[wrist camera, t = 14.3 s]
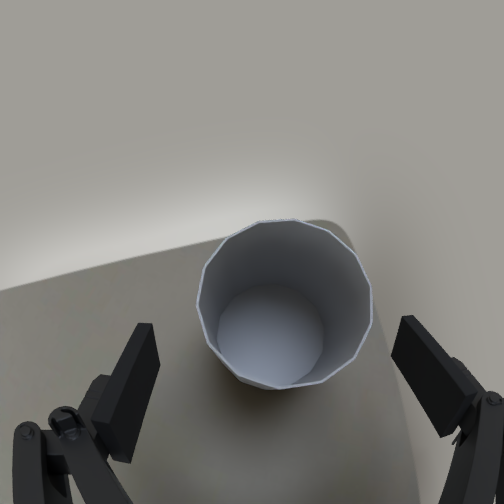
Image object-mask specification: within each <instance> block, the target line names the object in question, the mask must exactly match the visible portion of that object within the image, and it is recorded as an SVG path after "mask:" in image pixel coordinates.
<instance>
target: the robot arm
mask: <svg viewBox="0 0 504 504" xmlns="http://www.w3.org/2000/svg"><path fill="white" fill-rule="evenodd" d="M391 357H392V359H393V360H394V362H395V364H396V365H397V367H398V368H399V370H400V371H401V373H402V374H403V376H404V378H405V379H406V381H407V382H408V384H409V386H410V387H411V389H412V391H413V392H414V394H415V395H416V397H417V399H418V401H419V402H420V404H421V406H422V407H423V409H424V411H425V412H426V414H427V416H428V417H429V419H430V421H431V423H432V424H433V426H434V428H435V429H436V431H437V433H438V435H439V436H440V438H442V437H445V436H447V435H450V434H453V432H454V431H455V429H456V428H457V426H458V425H459V426H460V428H461V431H460V432H459V434H458V435H457V436H456V438H455V439H454V441H453V442H452V445H454V443H455V442H456V441H457V443H456V447H455V451H454V455H453V459H452V463H451V466H450V470H449V473H448V476H447V480H446V483H445V486H444V489H443V492H442V495H441V498H440V500H439V503H438V504H493V502H494V497H495V494H496V504H504V398H502V397H501V396H500V395H499V394H498V393H496V392H493V391H488V392H486V391H485V390H484V388H483V387H482V386H481V385H480V383H479V382H478V381H477V380H476V379H475V377H474V376H473V375H471V373H470V371H469V370H467V368H466V367H465V366H464V364H463V363H462V362H461V361H459V360H458V359H456V358H455V357H453V358H451V357H450V356H449V355H448V354H447V353H446V352H445V350H444V349H443V348H442V347H441V346H440V345H439V344H438V343H437V341H436V340H435V339H434V338H433V337H432V336H431V334H430V333H429V332H428V331H427V330H426V329H425V328H424V327H423V325H421V323H420V322H419V321H418V320H417V319H416V318H415V317H414V316H413V315H409V316H402V318H401V322H400V326H399V329H398V333H397V336H396V340H395V343H394V347H393V350H392V353H391ZM159 368H160V361H159V356H158V351H157V346H156V341H155V336H154V330H153V325H152V323H138V324H137V326H136V328H135V330H134V332H133V334H132V335H131V337H130V339H129V341H128V343H127V345H126V347H125V349H124V351H123V353H122V355H121V357H120V359H119V361H118V363H117V364H116V366H115V368H114V370H113V373H112V375H111V376H109V375H102V374H100V375H99V376H98V377H97V378H96V379H95V380H93V381H92V383H91V385H90V387H89V389H88V391H87V393H86V395H85V397H84V398H83V400H82V402H81V404H80V406H79V408H78V410H76V409H74V408H72V407H68V406H63V407H59V408H57V409H55V410H54V411H53V412H52V413H51V414H50V416H49V418H48V424H49V425H50V427H51V428H52V430H41V429H40V427H39V426H38V425H37V424H36V423H34V422H29V421H27V422H23V423H21V424H20V425H18V426H17V428H16V429H15V432H14V440H13V466H12V477H13V503H14V504H73V502H72V497H71V491H70V485H69V479H68V474H72V476H73V478H74V480H75V482H76V485H77V487H78V489H79V491H80V493H81V495H82V497H83V499H84V501H85V503H86V504H133V502H132V501H131V499H130V498H129V496H128V495H127V493H126V492H125V490H124V489H123V487H122V485H121V484H120V482H119V481H118V479H117V477H116V476H115V474H114V472H113V470H112V469H111V467H110V465H109V463H108V462H107V458H108V455H109V454H110V455H111V457H112V459H113V460H115V461H119V462H124V463H130V464H131V461H132V457H133V453H134V450H135V446H136V443H137V439H138V436H139V432H140V429H141V426H142V422H143V419H144V416H145V412H146V409H147V406H148V403H149V399H150V396H151V393H152V390H153V387H154V384H155V381H156V377H157V374H158V371H159Z"/></svg>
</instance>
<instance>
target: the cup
mask: <svg viewBox="0 0 504 504" xmlns="http://www.w3.org/2000/svg"><path fill="white" fill-rule="evenodd" d="M196 307H197V311H198V314H199V318H200V321H201V325H202V328H203V332H204V335H205V338H206V342H207V344H208V346H209V347H210V348H211V349H212V351H213V352H214V353H215V354H216V356H217V357H218V358H219V359H220V361H221V362H222V363H223V364H224V365H225V366H226V367H227V368H228V369H229V370H230V371H231V372H232V373H233V374H234V375H235V377H236V378H237V379H238V380H239V381H241V382H243V383H246V384H249V385H252V386H255V387H258V388H261V389H264V390H275V389H286V388H293V387H300V386H307V385H313V384H319V383H323V382H324V381H326V380H327V379H328V378H330V377H331V376H333V375H334V374H335V373H337V372H338V371H339V370H341V369H342V368H344V367H345V366H346V365H348V364H349V363H350V362H352V361H353V360H354V359H355V358H356V356H357V354H358V352H359V350H360V348H361V346H362V344H363V342H364V340H365V338H366V336H367V334H368V332H369V330H370V328H371V326H372V286H371V284H370V281H369V279H368V277H367V275H366V273H365V271H364V269H363V267H362V264H361V262H360V260H359V258H358V256H357V254H356V253H355V252H354V251H352V250H351V249H350V248H349V247H348V246H347V245H346V244H344V243H343V242H342V241H341V240H340V239H339V238H338V237H336V236H335V235H334V234H333V233H332V232H331V231H329V230H327V229H324V228H321V227H318V226H315V225H312V224H309V223H306V222H303V221H300V220H297V219H281V220H266V221H258V222H255V223H253V224H251V225H250V226H248V227H246V228H244V229H242V230H240V231H238V232H236V233H234V234H232V235H230V236H228V237H226V238H225V239H224V241H223V242H222V243H221V245H220V246H219V247H218V248H217V250H216V251H215V252H214V254H213V255H212V256H211V257H210V259H209V260H208V261H207V263H206V264H205V265H204V266H203V270H202V275H201V280H200V285H199V290H198V295H197V300H196Z"/></svg>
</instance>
